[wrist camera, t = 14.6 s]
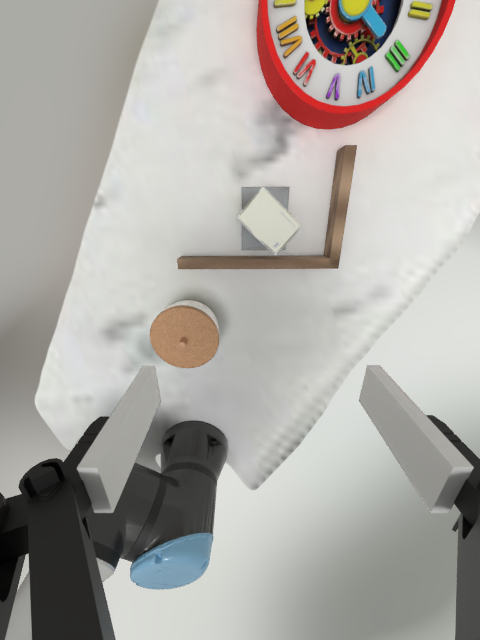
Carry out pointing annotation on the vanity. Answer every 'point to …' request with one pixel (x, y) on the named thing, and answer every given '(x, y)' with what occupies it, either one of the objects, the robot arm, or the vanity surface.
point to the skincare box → (269, 221)
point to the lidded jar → (185, 334)
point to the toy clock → (344, 53)
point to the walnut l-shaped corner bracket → (250, 242)
